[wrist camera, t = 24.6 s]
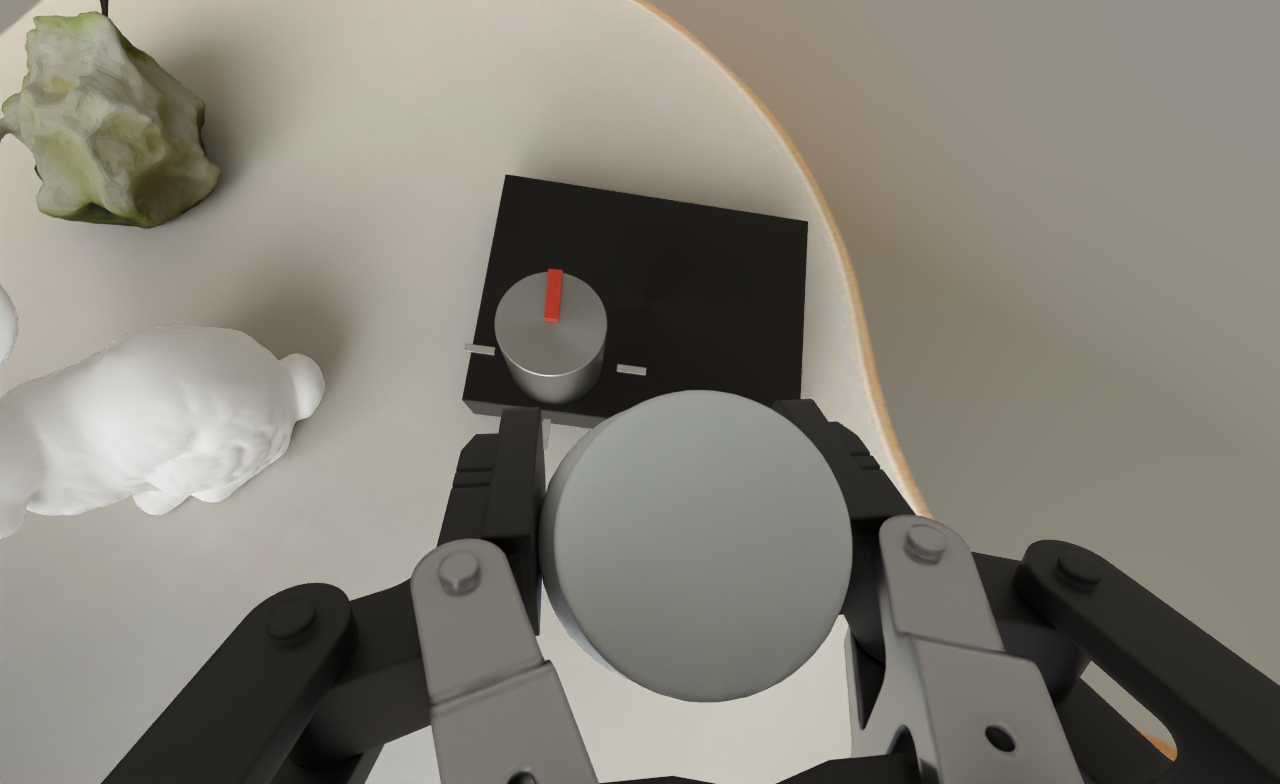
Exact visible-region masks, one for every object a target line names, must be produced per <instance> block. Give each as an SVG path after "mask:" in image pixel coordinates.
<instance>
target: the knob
mask: <svg viewBox="0 0 1280 784" xmlns="http://www.w3.org/2000/svg"><path fill="white" fill-rule="evenodd" d="M495 334H496V338H497V341H498V344H499V346H500V348H501V351H502V353H503V356H504V358H505V360H506V363H507V365H508V368H509V370H510V372H511V375H512V377H513V379H514V381H515V383H516V385H517V386H518V387H519V388H520V390H521V391H522V392H523V393H525V394H526V395H527V396H529V397H530V398H532V399H534V400H536V401H538V402H541V403H545V404H551V405H561V404H567V403H571V402H573V401H576V400H578V399H580V398H582V397H583V396H584V395H586V394H587V393H588V392H589V391H590V390H591V389H592V388H593V387H594V385H595V384H596V382H597V381H598V379H599V377H600V374H601V370H602V365H603V357H604V350H605V342H606V334H607V315H606V311H605V308H604V306H603V303H602V301H601V299H600V298H599V296H598V295H597V294H596V292H595V291H594V290H593V289H592V288H591V287H590V286H589V285H587V284H586V283H585V282H583V281H582V280H580V279H578V278H576V277H574V276H571V275H568V274H565V273H563V270H558V269H549V270H548V272H542V273H537V274H533V275H531V276H528V277H526V278H524V279H522V280H520V281H519V282H517V283H516V284H514V285H513V286H512V287H511V288H510V289H509V290H508V291H507V292H506V293H505V295H504V296H503V298H502V299H501V301H500V303H499V305H498V308H497V311H496V316H495Z"/></svg>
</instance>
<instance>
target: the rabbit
mask: <svg viewBox="0 0 1280 784" xmlns="http://www.w3.org/2000/svg"><path fill="white" fill-rule="evenodd" d="M17 335H18V317H17V314H16V309H15V307H14V305H13V302H12V300H11V298H10V296H9V295H8V293H7V292H6V291H5V290H4V289H3V288H2V286H1V285H0V368H1V367H2V365H3V364H4V363H5V361H6V360H7V358H8V357H9V355H10V353H11V351H12V349H13V347H14V345H15V342H16V338H17ZM324 391H325V383H324V378H323V375H322V372H321V370H320V368H319V366H318V365H317V364H316V363H315V362H314V361H313V360H312V359H311V358H309V357H307V356H304V355H302V354H298V353H295V354H291V355H288V356H286V357H284V358H283V359H281V360H277V359H276V358H275V357H274V355H273V354H272V353H271V352H270V351H269V350H267V349H266V348H264V347H263V346H261V345H260V344H259V343H257V342H256V341H255V340H254V339H253V338H252V337H250V336H249V335H247V334H245V333H243V332H241V331H238V330H233V329H227V328H217V327H207V326H189V325H177V326H173V325H165V326H160V327H152V328H146V329H142V330H138V331H135V332H131V333H128V334H125V335H123V336H121V337H118V338H116V339H115V340H113V341H112V342H110V343H109V344H108V345H107V347H106V348H105V350H104V351H101V352H98V353H95V354H93V355H91V356H90V357H88V358H86V359H84V360H83V361H81V362H80V363H79V364H76V365H73V366H70V367H67V368H64V369H62V370H59V371H56V372H54V373H52V374H50V375H48V376H45V377H42V378H39V379H34V380H31V381H28V382H25V383H23V384H21V385H19V386H17V387H16V388H14V389H13V390H11V391H10V392H8V393H7V394H6V395H4V396H3V397H2V398H1V399H0V538H4V537H7V536H9V535H11V534H13V533H15V532H16V531H17V530H19V528H20V527H21V526H22V524H23V522H24V519H25V516H26V510H28V511H31V512H35V513H39V514H43V515H77V514H82V513H85V512H88V511H90V510H92V509H95V508H99V507H106V506H109V505H110V504H112V503H114V502H117V501H120V500H123V499H125V498H127V497H128V496H130V495H133V498H134V502H135V503H136V505H137V506H138V507H139V508H140V509H142V510H143V511H144V512H146V513H148V514H152V515H162V514H165V513H167V512H169V511H171V510H173V509H174V508H175V507H177V506H178V505H179V504H181V503H182V502H183V501H184V500H185V499H187V498H188V497H189V496H190V495H191V496H193V497H196V498H197V499H198V500H201V501H205V502H211V503H216V502H219V501H222V500H224V499H226V498H227V497H229V496H230V495H231V494H232V493H233V492H234V491H235V490H236V489H238V488H239V487H240V486H241V485H243V484H244V483H245V482H247V481H248V480H249V479H250V478H252V477H253V476H255V475H257V474H259V473H260V472H261V471H262V470H263V469H264V468H266V466H268V465H270V464H271V463H273V462H274V461H276V460H277V459H279V458H280V457H281V456H282V455H283V454H284V453H285V452H286V450H287V449H288V447H289V444H290V440H291V434H292V430H293V427H294V424H295V422H296V421H298V420H301V419H305V418H308V417H310V416H311V415H312V414H313V413H314V412H315V410H316V408H317V407H318V405H319V403H320V402H321V400H322V398H323V395H324Z"/></svg>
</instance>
